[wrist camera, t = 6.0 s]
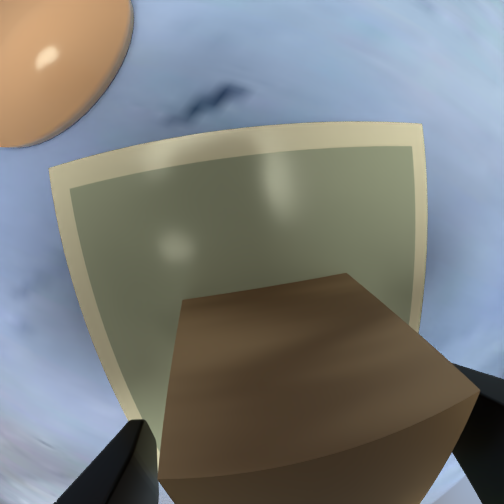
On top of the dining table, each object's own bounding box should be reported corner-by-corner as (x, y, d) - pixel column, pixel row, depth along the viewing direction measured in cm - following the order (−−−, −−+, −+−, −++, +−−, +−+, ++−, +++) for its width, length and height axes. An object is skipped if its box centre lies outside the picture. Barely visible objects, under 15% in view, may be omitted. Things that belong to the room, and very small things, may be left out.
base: (379, 129, 11) (426, 123, 8) (374, 394, 15) (399, 432, 12) (84, 166, 10) (44, 168, 7) (164, 434, 14) (160, 480, 11)
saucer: (135, -50, 8) (131, -64, 6) (139, 114, 10) (131, 109, 9) (-18, 17, 7) (-30, 10, 6) (-27, 171, 9) (-43, 173, 8)
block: (346, 272, 9) (480, 390, 4) (343, 392, 11) (412, 514, 5) (182, 299, 9) (157, 478, 3) (213, 418, 10) (225, 563, 4)
